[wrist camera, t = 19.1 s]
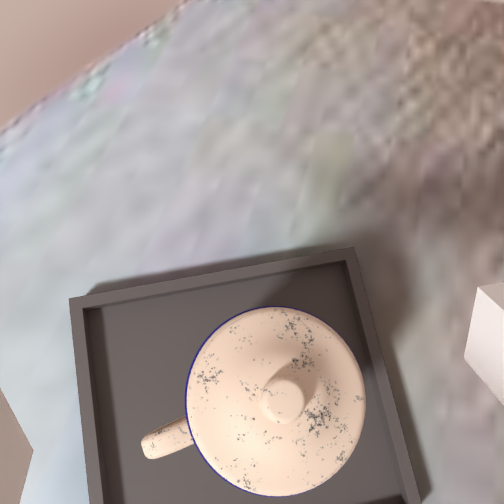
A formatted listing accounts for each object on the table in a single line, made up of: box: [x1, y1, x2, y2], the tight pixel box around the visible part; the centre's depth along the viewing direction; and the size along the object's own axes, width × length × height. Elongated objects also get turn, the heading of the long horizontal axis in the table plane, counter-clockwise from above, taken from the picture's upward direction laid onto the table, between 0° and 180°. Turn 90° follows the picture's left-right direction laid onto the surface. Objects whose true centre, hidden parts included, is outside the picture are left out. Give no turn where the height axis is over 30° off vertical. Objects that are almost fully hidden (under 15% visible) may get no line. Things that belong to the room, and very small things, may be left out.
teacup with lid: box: [141, 306, 366, 497], centre depth 25 cm, size 12×9×12 cm
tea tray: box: [69, 247, 422, 504], centre depth 30 cm, size 20×18×2 cm
